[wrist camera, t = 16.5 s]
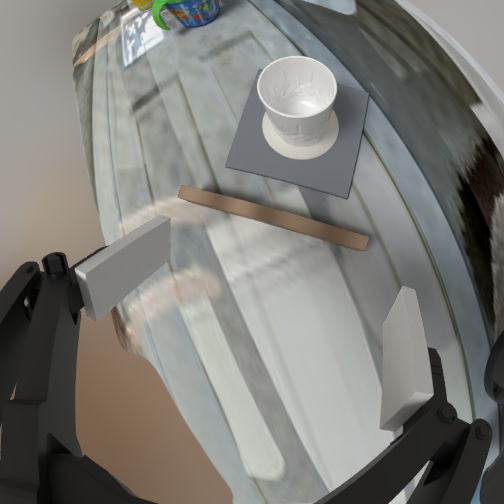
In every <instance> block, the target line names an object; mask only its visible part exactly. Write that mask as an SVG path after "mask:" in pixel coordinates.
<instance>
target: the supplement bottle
mask: <svg viewBox="0 0 504 504" xmlns="http://www.w3.org/2000/svg"><path fill="white" fill-rule="evenodd" d="M131 1H132V2H133V3H134V4H135V5H136V7H137V8H138V9H139V10H140V11H141V12H147V11H150V10H152V6H153V3H154V1H155V0H131Z"/></svg>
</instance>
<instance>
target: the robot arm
mask: <svg viewBox="0 0 504 504" xmlns="http://www.w3.org/2000/svg"><path fill="white" fill-rule="evenodd" d="M170 259H171V258H170V218H169V217H165V216H162V215H159V216H157V217H156V218H154V219H152V220H150V221H149V222H147V223H145V224H144V225H142V226H140V227H139V228H137V229H135V230H134V231H132V232H130V233H129V234H127V235H125V236H124V237H122V238H120V239H119V240H117V241H116V242H114V243H112V244H111V245H108V246H105V247H102V248H100V249H98V250H96V251H95V252H93V254H90V255H89V256H87V257H86V258H84V259H83V260H81V261H79V262H78V263H76V264H75V265H74V266H72V267H71V268H69V267H68V263H67V259H66V255H65V254H64V253H61V252H54V253H50V254H48V255H46V256H45V257H44V258H43V259H42V264H43V268H44V272H42V271H40V268H39V265H38V263H37V262H26V263H25V264H23V265H21V266H20V267H19V268H18V270H17V271H16V272H15V273H14V274H13V276H12V277H11V278H10V280H9V281H8V282H7V283H6V285H5V286H4V287H3V289H2V290H1V292H0V426H1V424H2V433H1V460H0V504H157V503H154V502H151V501H147V500H144V499H141V498H138V497H137V496H136V495H135V494H134V493H133V492H132V491H131V490H130V489H129V488H128V487H127V486H125V485H124V484H123V483H121V482H120V481H119V480H118V479H116V478H115V477H114V476H113V475H111V474H110V473H109V472H108V471H106V470H105V469H103V468H102V467H101V466H99V465H98V464H96V463H95V462H94V461H92V460H91V459H90V458H88V457H87V456H86V455H84V456H83V457H82V452H81V448H80V445H79V442H78V440H77V436H76V427H75V426H76V425H75V380H76V362H77V349H78V338H79V329H80V321H81V311H80V309H81V308H83V307H85V310H86V313H87V316H89V317H90V318H92V319H94V320H95V321H97V322H98V321H99V320H100V319H101V318H102V317H103V316H104V315H106V314H107V313H108V312H109V311H110V310H111V309H112V308H113V307H115V306H116V305H117V304H118V303H119V302H120V301H121V300H123V299H124V298H125V297H126V296H127V295H128V294H129V293H131V292H132V291H133V290H134V289H135V288H136V287H138V286H139V285H140V284H141V283H142V282H143V281H145V280H146V279H147V278H148V277H149V276H150V275H152V274H153V273H154V272H155V271H156V270H158V269H159V268H160V267H161V266H162V265H164V264H165V263H166V262H167V261H168V260H170ZM25 299H27V301H28V305H27V306H25V305H24V301H25ZM382 332H383V381H382V404H381V418H380V429H383V430H389V431H395V432H396V431H397V430H398V429H399V428H400V427H401V426H402V425H403V433H402V434H401V435H400V436H399V437H397V438H396V439H395V440H394V441H393V442H391V443H390V445H389V446H388V447H387V448H386V449H385V450H384V451H383V452H382V453H380V454H379V455H378V456H377V457H376V458H375V459H374V460H372V461H371V462H370V463H369V464H368V465H366V466H365V467H364V468H363V469H362V470H360V471H359V472H358V473H356V474H355V475H354V476H353V477H351V478H350V479H349V480H347V481H346V482H345V483H343V484H342V485H341V486H339V487H338V488H336V489H335V490H334V491H332V492H331V493H329V494H328V495H326V496H325V497H323V498H322V499H320V500H319V501H317V502H315V503H314V504H388V503H389V502H390V501H391V500H392V499H394V498H395V497H396V496H397V495H398V494H399V493H400V492H401V491H402V490H403V489H404V488H405V486H406V485H407V484H408V483H409V482H410V481H411V480H412V479H413V478H414V477H415V476H416V475H417V474H418V472H419V471H420V470H421V469H422V468H423V467H424V465H425V464H426V463H427V462H428V461H430V462H429V464H428V466H427V468H426V470H425V472H424V474H423V475H422V477H421V479H420V481H419V483H418V485H417V486H416V488H415V490H414V492H413V493H412V495H411V497H410V498H409V500H408V501H407V503H406V504H504V449H503V450H502V452H501V453H500V454H499V455H498V457H497V458H496V459H495V460H494V462H493V463H492V464H491V465H490V466H489V467H488V468H487V469H486V470H485V471H484V473H483V475H482V472H483V469H484V465H485V462H486V459H487V455H488V452H489V448H490V444H491V440H492V429H491V427H490V425H489V423H488V422H487V421H485V420H484V419H476V420H475V421H473V422H472V423H471V424H469V423H467V422H465V421H462V420H460V419H459V418H457V412H456V409H455V408H454V407H453V405H451V404H450V403H449V402H447V395H446V388H445V381H444V376H443V369H442V363H441V358H440V356H439V354H438V353H437V351H436V349H433V348H429V347H427V342H426V337H425V332H424V327H423V322H422V317H421V312H420V308H419V304H418V299H417V295H416V291H415V289H412V288H408V287H405V286H402V288H401V290H400V292H399V294H398V296H397V298H396V300H395V302H394V304H393V306H392V308H391V310H390V312H389V314H388V316H387V318H386V320H385V321H384V323H383V325H382ZM16 382H17V384H16ZM484 383H485V390H486V392H487V394H488V396H489V397H490V398H492V399H493V400H494V401H495V402H496V403H498V404H501V405H504V331H503V333H502V334H501V336H500V337H499V339H498V340H497V342H496V344H495V346H494V348H493V350H492V352H491V354H490V357H489V360H488V363H487V366H486V371H485V379H484ZM15 385H16V391H15V397H14V399H13V400H10V398H11V395H12V393H13V390H14V387H15ZM481 475H482V477H481Z"/></svg>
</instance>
